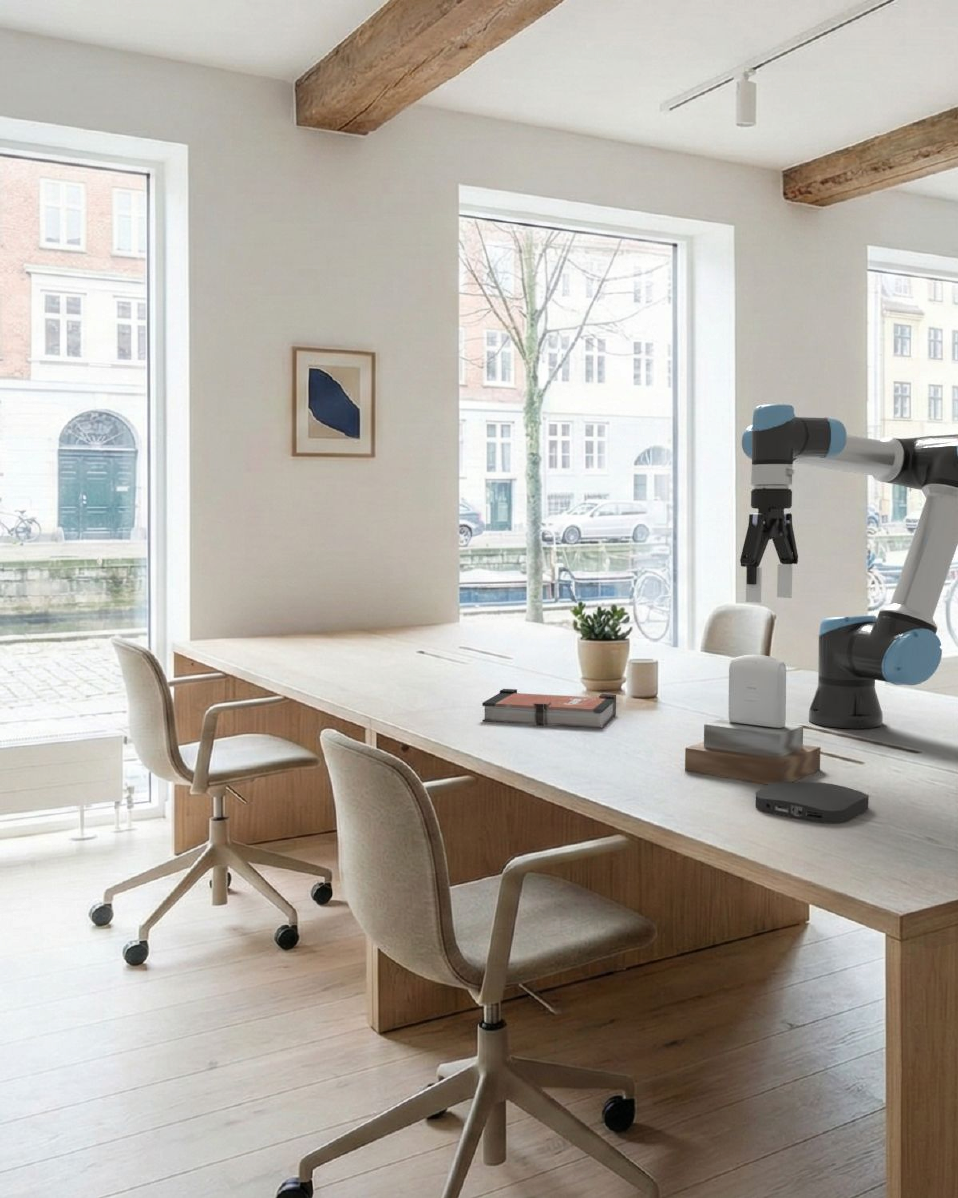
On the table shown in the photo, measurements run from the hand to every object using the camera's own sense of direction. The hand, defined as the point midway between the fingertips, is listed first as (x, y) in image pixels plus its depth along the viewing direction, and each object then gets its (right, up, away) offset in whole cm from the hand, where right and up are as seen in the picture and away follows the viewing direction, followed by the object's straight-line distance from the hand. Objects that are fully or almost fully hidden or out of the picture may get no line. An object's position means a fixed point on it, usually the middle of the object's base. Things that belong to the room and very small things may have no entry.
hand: (769, 600), depth 211 cm
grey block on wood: (-7, -30, -15) cm, 34 cm away
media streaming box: (-4, -33, -40) cm, 51 cm away
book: (-40, -27, +33) cm, 58 cm away
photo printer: (-6, -22, -15) cm, 28 cm away
